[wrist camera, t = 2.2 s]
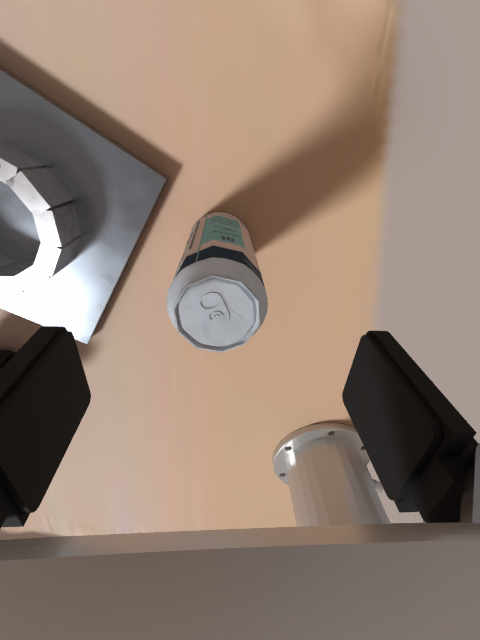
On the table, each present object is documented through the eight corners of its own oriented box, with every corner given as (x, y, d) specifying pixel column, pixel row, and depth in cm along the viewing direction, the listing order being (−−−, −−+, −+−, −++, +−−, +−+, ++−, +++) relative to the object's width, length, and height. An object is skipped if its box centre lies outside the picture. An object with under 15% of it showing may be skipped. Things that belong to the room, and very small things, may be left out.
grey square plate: (169, 177, 21) (157, 183, 17) (92, 336, 27) (72, 365, 24) (-101, -1, 16) (-197, -46, 12) (-117, 246, 22) (-183, 265, 19)
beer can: (205, 278, 25) (192, 371, 15) (179, 225, 23) (141, 291, 12) (258, 257, 24) (284, 339, 14) (236, 200, 22) (248, 248, 12)
